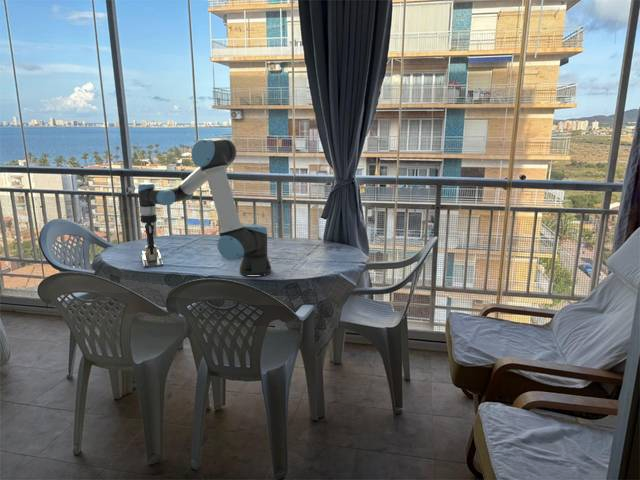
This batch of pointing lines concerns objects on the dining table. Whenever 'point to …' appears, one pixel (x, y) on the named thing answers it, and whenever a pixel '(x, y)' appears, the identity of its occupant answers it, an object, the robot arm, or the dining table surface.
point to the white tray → (153, 262)
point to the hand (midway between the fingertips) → (151, 258)
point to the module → (148, 252)
